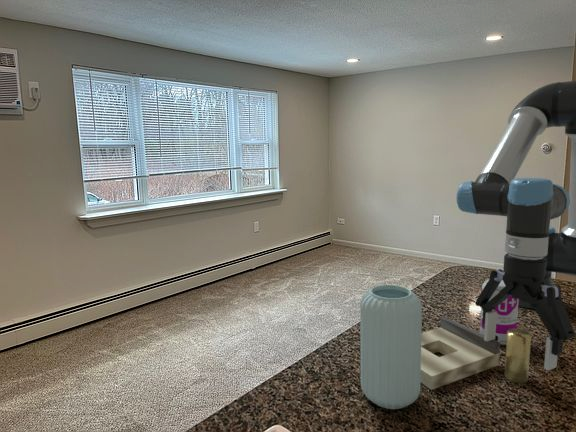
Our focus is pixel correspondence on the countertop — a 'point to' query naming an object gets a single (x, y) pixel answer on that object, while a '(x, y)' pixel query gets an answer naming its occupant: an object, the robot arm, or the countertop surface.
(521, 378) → the brass cylinder
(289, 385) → the countertop surface
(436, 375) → the jig
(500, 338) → the supplement can
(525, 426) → the countertop surface
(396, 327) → the vase
